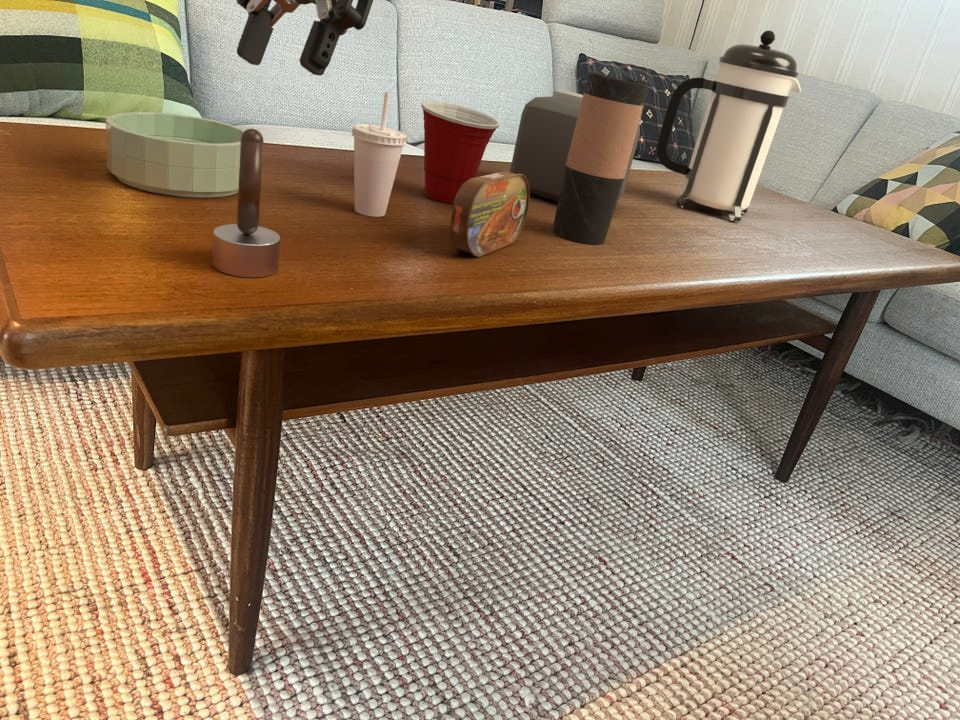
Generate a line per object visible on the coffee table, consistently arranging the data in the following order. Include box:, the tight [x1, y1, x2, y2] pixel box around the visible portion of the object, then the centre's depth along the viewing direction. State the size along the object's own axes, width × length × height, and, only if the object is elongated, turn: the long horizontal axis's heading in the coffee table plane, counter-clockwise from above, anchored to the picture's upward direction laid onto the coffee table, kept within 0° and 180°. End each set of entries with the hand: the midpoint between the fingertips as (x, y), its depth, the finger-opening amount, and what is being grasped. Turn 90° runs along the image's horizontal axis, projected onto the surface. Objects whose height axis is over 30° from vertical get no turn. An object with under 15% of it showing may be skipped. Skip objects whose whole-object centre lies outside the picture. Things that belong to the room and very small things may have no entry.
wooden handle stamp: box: [211, 128, 281, 279], centre depth 62 cm, size 6×6×12 cm
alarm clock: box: [509, 89, 641, 203], centre depth 112 cm, size 16×11×16 cm
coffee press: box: [656, 30, 802, 222], centre depth 125 cm, size 17×16×30 cm
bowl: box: [105, 111, 246, 199], centre depth 84 cm, size 15×15×6 cm
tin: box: [449, 171, 531, 258], centre depth 82 cm, size 15×3×8 cm, turn 151°
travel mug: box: [552, 70, 649, 245], centre depth 93 cm, size 8×8×20 cm
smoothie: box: [350, 91, 408, 218], centre depth 85 cm, size 6×6×14 cm
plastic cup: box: [420, 100, 501, 205], centre depth 99 cm, size 11×11×12 cm
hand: (277, 65), depth 62 cm, fingers open, 8 cm apart
